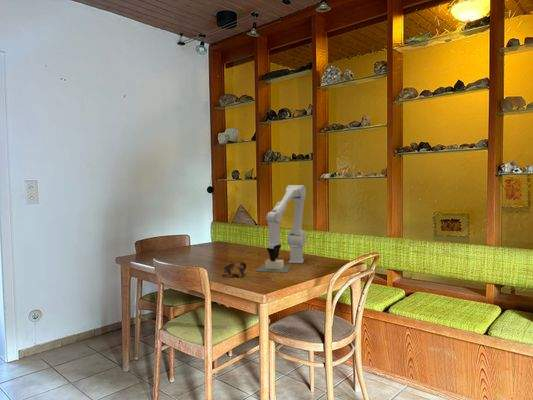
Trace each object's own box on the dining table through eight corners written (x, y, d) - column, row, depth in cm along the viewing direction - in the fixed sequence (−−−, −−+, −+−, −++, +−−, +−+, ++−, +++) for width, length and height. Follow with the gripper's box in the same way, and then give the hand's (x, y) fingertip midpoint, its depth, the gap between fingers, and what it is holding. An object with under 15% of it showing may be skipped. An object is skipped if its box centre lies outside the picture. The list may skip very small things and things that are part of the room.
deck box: (283, 267, 215) (283, 259, 215) (282, 269, 210) (282, 261, 210) (267, 266, 217) (267, 259, 217) (265, 268, 212) (265, 260, 212)
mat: (262, 264, 223) (262, 264, 223) (291, 266, 220) (291, 265, 220) (255, 271, 208) (255, 270, 208) (286, 272, 204) (286, 272, 204)
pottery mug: (236, 280, 192) (227, 265, 193) (226, 285, 199) (218, 270, 200) (253, 270, 200) (245, 255, 201) (243, 275, 207) (236, 260, 208)
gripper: (269, 232, 221) (269, 256, 222) (263, 236, 207) (263, 262, 207) (282, 232, 219) (282, 257, 220) (277, 236, 205) (277, 262, 206)
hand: (274, 259), depth 214 cm, fingers open, 7 cm apart
